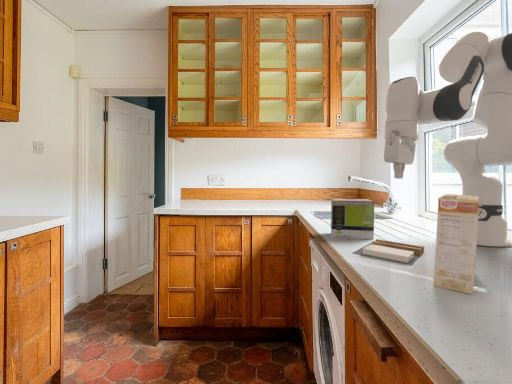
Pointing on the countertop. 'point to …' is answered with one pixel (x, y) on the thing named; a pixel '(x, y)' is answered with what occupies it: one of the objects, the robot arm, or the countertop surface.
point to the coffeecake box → (456, 242)
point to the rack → (400, 246)
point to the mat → (360, 252)
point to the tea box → (352, 218)
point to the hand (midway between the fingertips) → (398, 178)
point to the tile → (389, 253)
